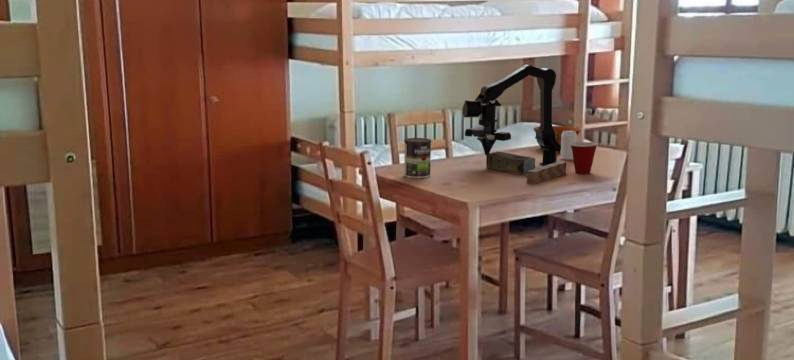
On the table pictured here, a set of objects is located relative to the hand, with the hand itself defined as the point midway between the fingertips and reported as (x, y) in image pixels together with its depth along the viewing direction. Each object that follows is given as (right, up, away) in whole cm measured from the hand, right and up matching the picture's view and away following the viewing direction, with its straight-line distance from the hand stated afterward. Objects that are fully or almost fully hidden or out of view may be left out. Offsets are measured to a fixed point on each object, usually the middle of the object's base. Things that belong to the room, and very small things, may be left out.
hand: (486, 155), depth 330 cm
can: (+37, -1, +21) cm, 43 cm away
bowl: (+37, +4, +44) cm, 57 cm away
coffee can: (-29, -9, -15) cm, 34 cm away
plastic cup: (+37, -7, -8) cm, 38 cm away
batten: (+21, -9, -19) cm, 30 cm away
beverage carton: (+9, -6, -4) cm, 12 cm away
